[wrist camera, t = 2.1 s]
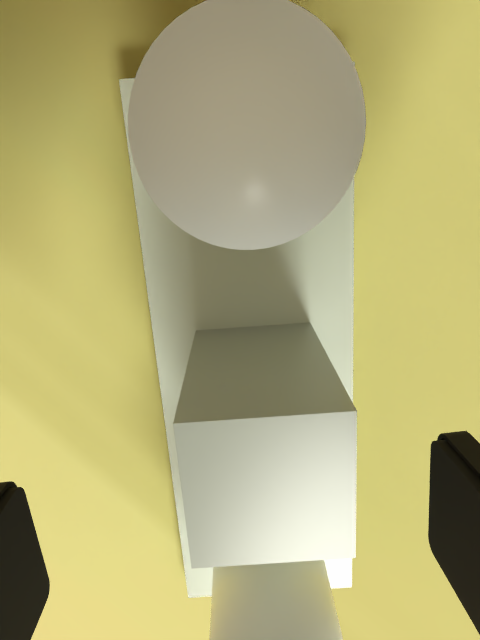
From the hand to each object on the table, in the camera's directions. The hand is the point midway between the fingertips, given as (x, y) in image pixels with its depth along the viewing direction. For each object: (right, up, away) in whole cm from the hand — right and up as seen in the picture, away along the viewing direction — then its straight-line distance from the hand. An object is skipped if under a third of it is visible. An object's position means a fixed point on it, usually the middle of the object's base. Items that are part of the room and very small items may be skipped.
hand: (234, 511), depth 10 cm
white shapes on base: (+1, +3, +7) cm, 8 cm away
